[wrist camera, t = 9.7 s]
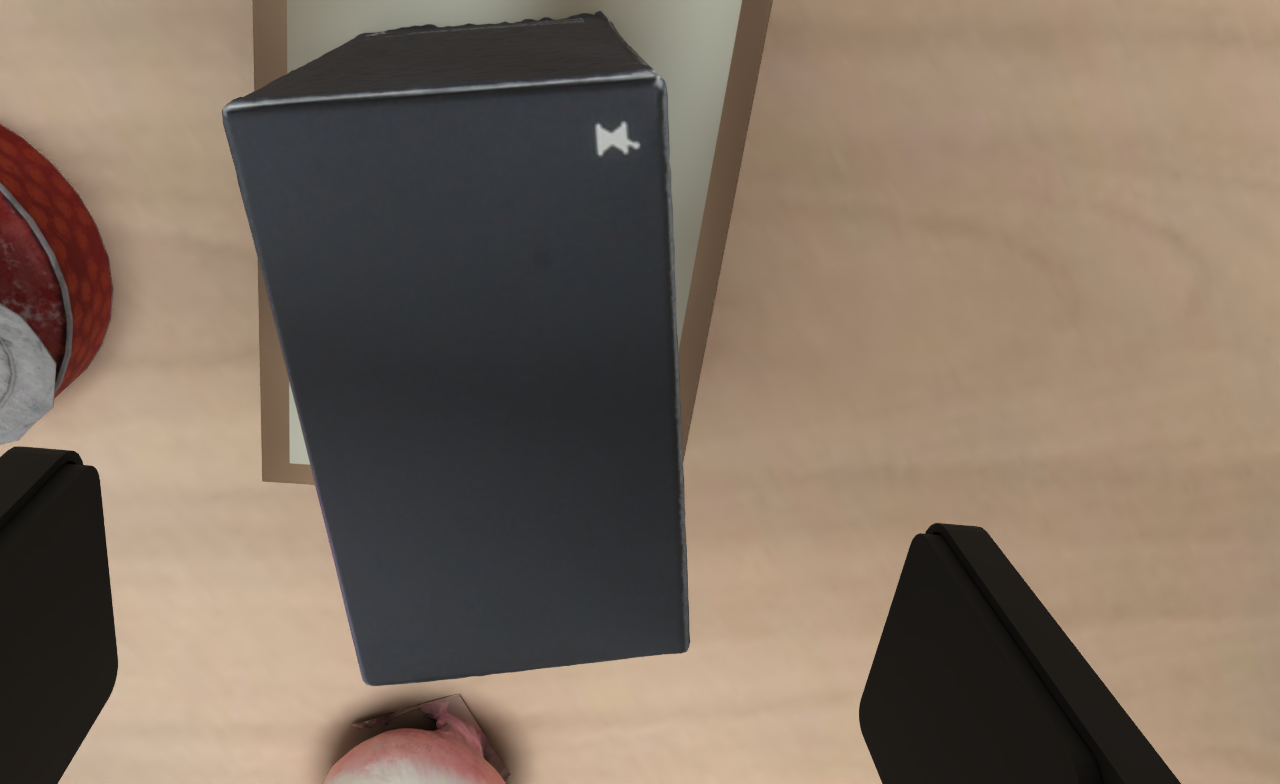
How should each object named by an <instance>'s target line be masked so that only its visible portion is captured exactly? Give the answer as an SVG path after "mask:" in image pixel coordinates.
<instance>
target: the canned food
mask: <svg viewBox="0 0 1280 784" xmlns="http://www.w3.org/2000/svg"><path fill="white" fill-rule="evenodd" d="M112 297H113V285H112V278H111V271H110V264H109V258H108V255H107V252H106V249H105V247H104V244H103V241H102V238H101V236H100V233H99V230H98V227H97V225H96V223H95V222H94V220H93V218H92V217H91V215H90V213H89V212H88V210H87V208H86V207H85V205H84V203H83V201H82V200H81V198H80V196H79V195H78V193H77V192H76V191H75V190H74V189H73V187H72V186H71V185H70V184H69V183H68V182H67V180H66V179H65V178H64V177H63V176H62V174H61V173H60V172H59V171H58V170H57V168H56V167H55V166H54V165H53V164H52V163H51V162H50V161H48V160H47V159H46V158H45V157H44V156H43V155H42V154H40V153H39V152H38V151H37V150H36V149H35V148H33V147H32V146H31V145H30V144H29V143H28V142H27V141H25V140H24V139H23V138H22V137H20V136H18V135H17V134H15V133H14V132H12V131H10V130H9V129H7V128H6V127H4V126H3V125H1V124H0V445H1V444H5V443H9V442H13V441H17V440H19V439H20V438H21V437H22V436H23V435H24V434H25V433H26V432H27V431H28V430H29V429H30V428H31V427H32V426H33V425H34V424H35V423H36V422H37V421H38V420H39V419H40V418H41V417H42V416H44V415H45V414H46V413H47V412H48V411H49V410H50V409H52V408H53V403H54V398H55V397H56V396H57V395H59V394H60V393H61V392H62V391H63V390H64V389H65V388H67V387H68V386H69V385H70V384H71V383H72V382H73V381H74V380H75V379H76V378H77V377H78V376H79V375H81V374H82V373H83V372H84V371H85V370H86V369H87V368H88V366H89V365H90V363H91V361H92V360H93V358H94V357H95V355H96V354H97V352H98V351H99V349H100V347H101V346H102V344H103V341H104V338H105V335H106V332H107V329H108V326H109V323H110V320H111V310H112Z"/></svg>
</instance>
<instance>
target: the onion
mask: <svg viewBox="0 0 1280 784" xmlns="http://www.w3.org/2000/svg"><path fill="white" fill-rule="evenodd" d="M416 708H418V709H421V711H422V712H423V713H425V715H424V716H423V717H426V718H428V719H431V720H437V722H436V727H437V728H436V729H435V730H434V731H431V730H423V729H416V728H399V729H394V730H389V731H386V732H383V733H381V734H379V735H377V736H374V737H372V738H370V739H368V740H366V741H364V742H362V743H360V744H359V745H357V746H356V747H354V748H353V749H352V750H350V751H349V752H348V753H347V754H346V755H344V756H343V757H342V758H341V759H340V760H339V761H337V762H336V763H335V764H334V765H333V766H332V767H331V769H330V770H329V772H328V774H327V775H326V777H325V779H324V780H323V782H322V784H506V783H505V781H506V780H507V778H508V777H509V775H510V774H509V772H508V770H507V769H506V767H505V766H504V764H503V763H502V761H501V760H500V758H499V757H498V755H497V754H496V752H495V751H494V749H493V747H492V746H491V744H490V743H489V741H488V740H487V738H486V737H485V735H484V733H483V732H482V730H481V729H480V727H479V725H478V724H477V722H476V721H475V719H474V717H473V716H472V714H471V713H470V711H469V710H468V708H467V706H466V705H465V703H464V702H463V700H462V698H461V697H460V695H459V694H456V695H452V696H449V697H446V698H442V699H439V700H435V701H432V702H428V703H424V704H420V705H417V706H413V707H410V708H408V709H406V710H404V711H402V712H400V713H398V714H396V715H394V712H392V713H390V714H387V715H384V716H382V717H379V718H376V719H372V720H369V721H365V722H361V723H356V724H352V725H351V726H352V727H357V728H359V729H361V728H366V727H373V726H383V727H385V726H387V725H389V724H390V723H391V721H392V719H393V718H394V717H397V716H399V715H401V714H404V713H406V712H409V711H411V710H413V709H416ZM393 715H394V716H393Z"/></svg>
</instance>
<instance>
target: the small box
mask: <svg viewBox="0 0 1280 784" xmlns="http://www.w3.org/2000/svg"><path fill="white" fill-rule="evenodd" d="M222 115H223V125H224V128H225V132H226V135H227V139H228V142H229V147H230V151H231V155H232V158H233V162H234V166H235V169H236V173H237V178H238V184H239V188H240V191H241V195H242V199H243V203H244V206H245V210H246V214H247V217H248V221H249V225H250V229H251V233H252V237H253V240H254V244H255V248H256V252H257V256H258V260H259V264H260V268H261V272H262V275H263V279H264V283H265V287H266V291H267V295H268V299H269V303H270V307H271V311H272V315H273V319H274V323H275V327H276V330H277V334H278V338H279V342H280V346H281V350H282V354H283V358H284V362H285V366H286V370H287V374H288V378H289V382H290V386H291V390H292V393H293V397H294V401H295V405H296V409H297V413H298V417H299V421H300V425H301V429H302V433H303V437H304V441H305V445H306V449H307V453H308V457H309V462H310V466H311V470H312V474H313V478H314V482H315V486H316V490H317V494H318V498H319V502H320V506H321V510H322V514H323V518H324V522H325V526H326V530H327V534H328V538H329V542H330V547H331V551H332V555H333V559H334V563H335V567H336V571H337V575H338V579H339V583H340V588H341V592H342V596H343V600H344V605H345V609H346V613H347V617H348V622H349V626H350V630H351V634H352V638H353V642H354V646H355V651H356V655H357V659H358V663H359V667H360V671H361V675H362V679H363V681H364V682H365V683H366V685H371V686H381V685H395V684H409V683H419V682H429V681H436V680H446V679H458V678H465V677H470V676H485V675H490V674H499V673H507V672H519V671H526V670H533V669H541V668H550V667H560V666H570V665H576V664H585V663H595V662H603V661H612V660H620V659H628V658H635V657H644V656H653V655H661V654H676V653H684V652H687V650H688V648H689V644H690V634H689V603H688V574H687V547H686V531H685V505H684V475H683V449H682V419H681V400H680V375H679V354H678V337H677V318H676V286H675V248H674V232H673V206H672V192H671V168H670V163H669V159H670V145H669V122H668V94H667V86H666V83H665V80H663V79H662V78H661V77H660V76H658V74H657V73H656V72H655V70H654V69H653V68H652V67H650V66H649V65H648V64H647V63H646V62H645V61H644V59H642V57H641V56H639V55H638V53H637V51H635V50H634V49H633V48H632V47H631V46H629V45H628V43H627V42H626V41H625V40H624V39H623V38H622V37H621V36H620V34H619V33H618V31H617V29H616V28H615V27H614V24H613V23H612V22H611V21H610V20H609V19H608V18H607V17H606V16H605V15H604V14H603V12H601V11H598V12H596V13H595V14H594V15H593V14H589V13H581V14H578V15H573V16H570V17H568V18H565V19H559V20H553V19H551V18H549V17H544V18H542V19H540V20H538V21H536V20H533V19H524V20H523V21H521V22H515V23H508V22H506V21H505V22H502V23H498V24H491V23H489V24H481V25H475V24H470V23H468V24H465V25H460V26H446V27H437V26H435V25H433V24H426V25H423V26H416V25H415V26H411V27H401V28H398V29H393V30H387V31H384V32H376V33H363V34H359V35H358V36H356V37H355V38H354V39H351V40H350V41H348V42H347V43H345V44H343V45H341V46H339V47H338V48H335V49H333V50H332V51H329V52H328V53H325V54H324V55H322V56H321V57H319V58H318V59H314V60H313V61H311V62H308V63H307V64H305V65H304V66H302V67H299V68H297V69H296V70H292V71H291V72H289V73H288V74H287V75H283V76H281V77H280V78H278V79H276V80H274V81H272V82H270V83H268V84H267V85H266V86H264V87H262V88H260V89H258V90H256V91H254V92H252V93H250V94H248V95H247V96H245V97H239V98H237V99H234V100H232V101H231V102H230V103H228V104H227V105H226V106H225V107H223V109H222Z"/></svg>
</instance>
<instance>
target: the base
mask: <svg viewBox="0 0 1280 784" xmlns="http://www.w3.org/2000/svg"><path fill="white" fill-rule="evenodd" d="M772 1H773V0H253V39H254V89H255V91H256V90H258V89H260V88H262V87H264V86H266V85H267V84H268V83H270V82H272V81H274V80H276V79H278V78H280V77H281V76H283V75H287V74H288V73H289V72H291V71H292V70H296V69H297V68H299V67H302V66H304V65H305V64H307V63H308V62H311V61H313V60H314V59H318V58H319V57H321V56H322V55H324V54H325V53H328V52H329V51H332V50H333V49H335V48H338V47H339V46H341V45H343V44H345V43H347V42H348V41H350V40H351V39H354V38H355V37H356V36H358V35H359V34H363V33H376V32H384V31H387V30H393V29H398V28H401V27H411V26H415V25H416V26H423V25H426V24H433V25H435V26H437V27H446V26H460V25H465V24H468V23H470V24H475V25H481V24H489V23H491V24H498V23H502V22H505V21H506V22H508V23H515V22H521V21H523V20H524V19H533V20H536V21H538V20H540V19H542V18H544V17H549V18H551V19H553V20H559V19H565V18H568V17H570V16H573V15H578V14H581V13H589V14H593V15H594V14H595V13H596V12H598V11H601V12H603V14H604V15H605V16H606V17H607V18H608V19H609V20H610V21H611V22H612V23H613V24H614V27H615V28H616V29H617V31H618V33H619V34H620V36H621V37H622V38H623V39H624V40H625V41H626V42H627V43H628V45H629V46H631V47H632V48H633V49H634V50H635V51H637V53H638V55H639V56H641V57H642V59H644V61H645V62H646V63H647V64H648V65H649V66H650V67H652V68H653V69H654V70H655V72H656V73H657V74H658V76H660V77H661V78H662V79H663V80H665V83H666V86H667V94H668V122H669V145H670V159H669V163H670V168H671V192H672V206H673V232H674V248H675V286H676V318H677V337H678V354H679V375H680V400H681V419H682V449H683V460H684V455H685V449H686V444H687V439H688V434H689V429H690V424H691V419H692V413H693V408H694V403H695V398H696V393H697V388H698V382H699V377H700V372H701V367H702V362H703V357H704V352H705V346H706V341H707V336H708V331H709V326H710V321H711V316H712V310H713V305H714V300H715V295H716V290H717V285H718V279H719V274H720V269H721V264H722V259H723V254H724V249H725V243H726V238H727V233H728V228H729V223H730V218H731V212H732V207H733V202H734V197H735V192H736V187H737V182H738V176H739V171H740V166H741V161H742V156H743V151H744V145H745V140H746V135H747V130H748V125H749V120H750V115H751V109H752V104H753V99H754V94H755V89H756V84H757V78H758V73H759V68H760V63H761V58H762V53H763V48H764V42H765V37H766V32H767V27H768V22H769V17H770V11H771V6H772ZM258 288H259V337H260V387H261V437H262V481H266V482H281V483H296V484H310V485H315V482H314V478H313V474H312V470H311V466H310V462H309V457H308V453H307V449H306V445H305V441H304V437H303V433H302V429H301V425H300V421H299V417H298V413H297V409H296V405H295V401H294V397H293V393H292V390H291V386H290V382H289V378H288V374H287V370H286V366H285V362H284V358H283V354H282V350H281V346H280V342H279V338H278V334H277V330H276V327H275V323H274V319H273V315H272V311H271V307H270V303H269V299H268V295H267V291H266V287H265V283H264V279H263V275H262V272H261V268H260V264H259V260H258Z"/></svg>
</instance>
